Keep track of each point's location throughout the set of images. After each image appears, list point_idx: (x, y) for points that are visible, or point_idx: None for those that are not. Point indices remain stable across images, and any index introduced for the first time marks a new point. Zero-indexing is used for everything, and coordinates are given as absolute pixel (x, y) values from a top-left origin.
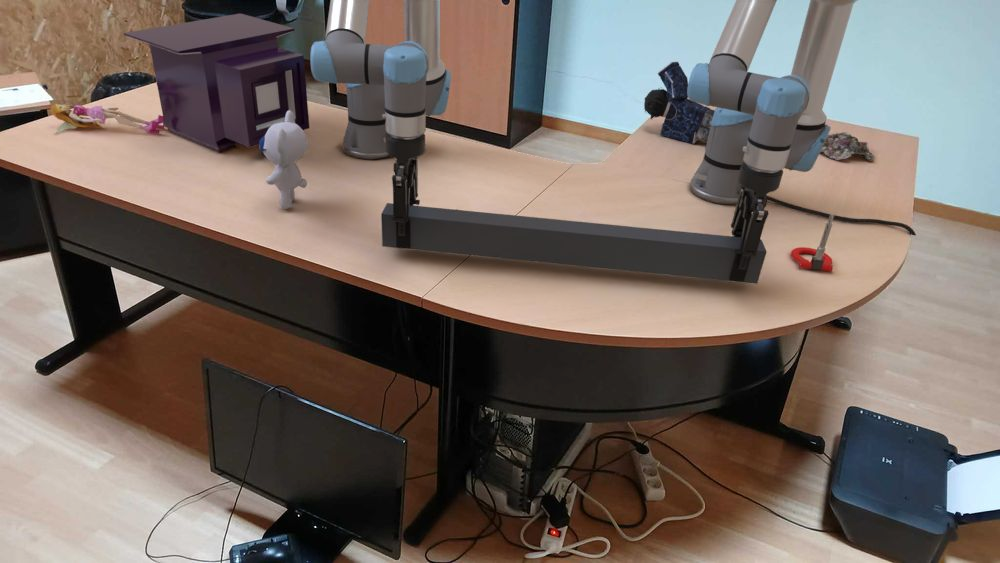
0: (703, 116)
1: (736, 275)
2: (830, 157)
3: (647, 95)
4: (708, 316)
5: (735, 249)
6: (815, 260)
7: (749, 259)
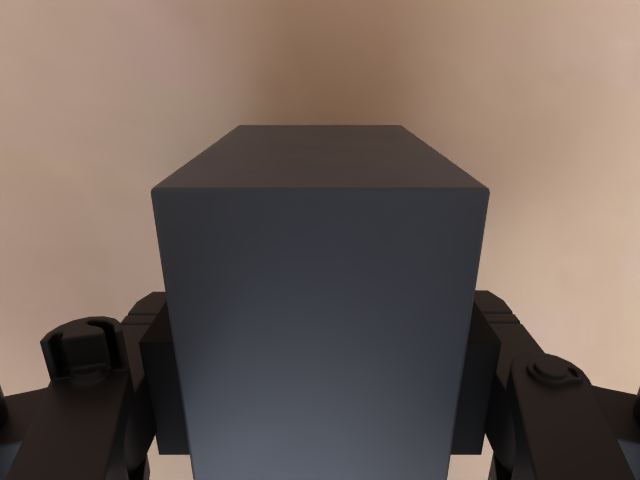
0: None
1: None
2: None
3: None
4: (591, 358)
5: (446, 473)
6: None
7: (478, 310)
